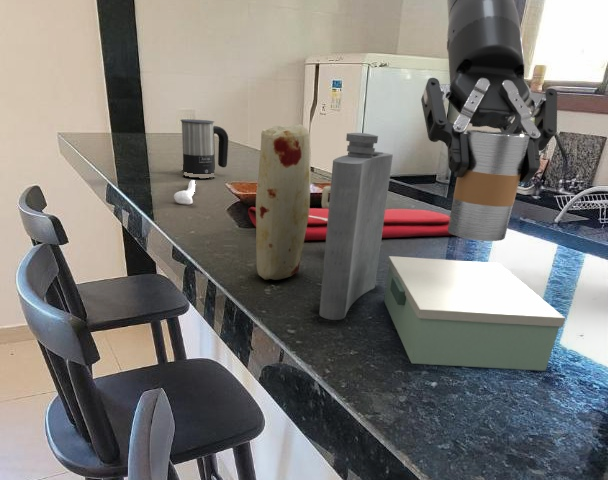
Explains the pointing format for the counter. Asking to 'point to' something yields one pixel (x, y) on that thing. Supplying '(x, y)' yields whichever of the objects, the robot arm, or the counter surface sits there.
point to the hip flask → (354, 224)
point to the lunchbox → (469, 315)
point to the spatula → (186, 194)
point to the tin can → (488, 185)
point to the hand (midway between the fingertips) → (495, 174)
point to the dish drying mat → (393, 226)
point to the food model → (282, 200)
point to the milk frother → (202, 146)
